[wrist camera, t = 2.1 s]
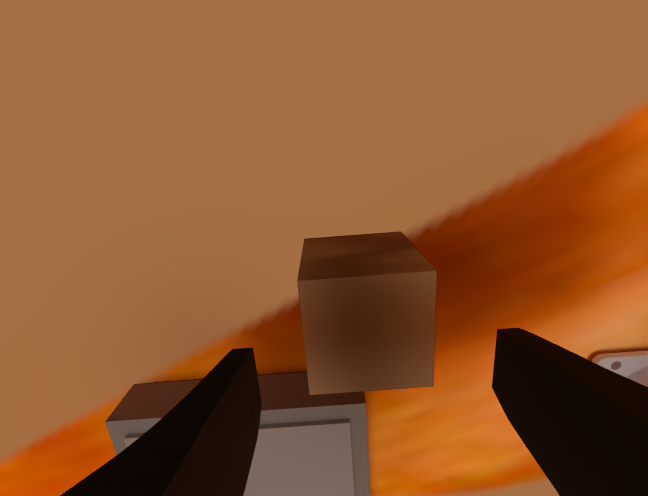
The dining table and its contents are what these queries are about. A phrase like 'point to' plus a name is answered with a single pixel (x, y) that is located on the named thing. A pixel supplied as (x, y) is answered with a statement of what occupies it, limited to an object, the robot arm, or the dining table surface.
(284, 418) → the tray
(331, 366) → the block
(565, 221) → the dining table surface
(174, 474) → the robot arm
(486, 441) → the dining table surface
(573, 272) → the dining table surface
